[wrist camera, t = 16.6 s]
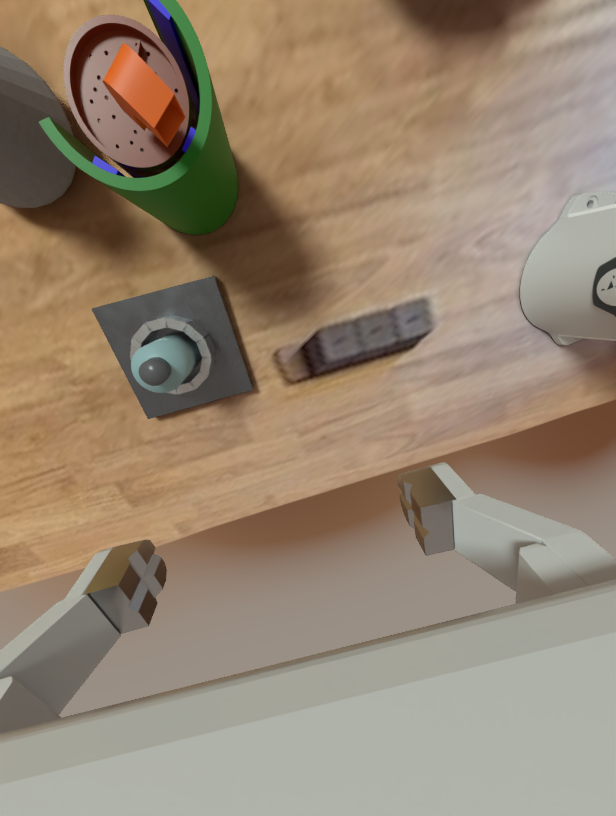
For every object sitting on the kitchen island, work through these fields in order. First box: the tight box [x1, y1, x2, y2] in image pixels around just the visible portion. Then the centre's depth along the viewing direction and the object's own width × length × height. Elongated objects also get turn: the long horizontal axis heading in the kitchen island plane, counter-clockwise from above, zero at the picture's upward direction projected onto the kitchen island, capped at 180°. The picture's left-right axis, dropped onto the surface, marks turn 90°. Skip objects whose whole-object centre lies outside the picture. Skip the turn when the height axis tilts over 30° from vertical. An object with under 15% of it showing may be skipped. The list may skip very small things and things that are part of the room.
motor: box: [39, 0, 238, 235], centre depth 22 cm, size 10×9×20 cm
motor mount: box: [92, 276, 253, 419], centre depth 35 cm, size 14×14×4 cm
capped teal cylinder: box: [131, 333, 200, 393], centre depth 32 cm, size 5×5×10 cm
